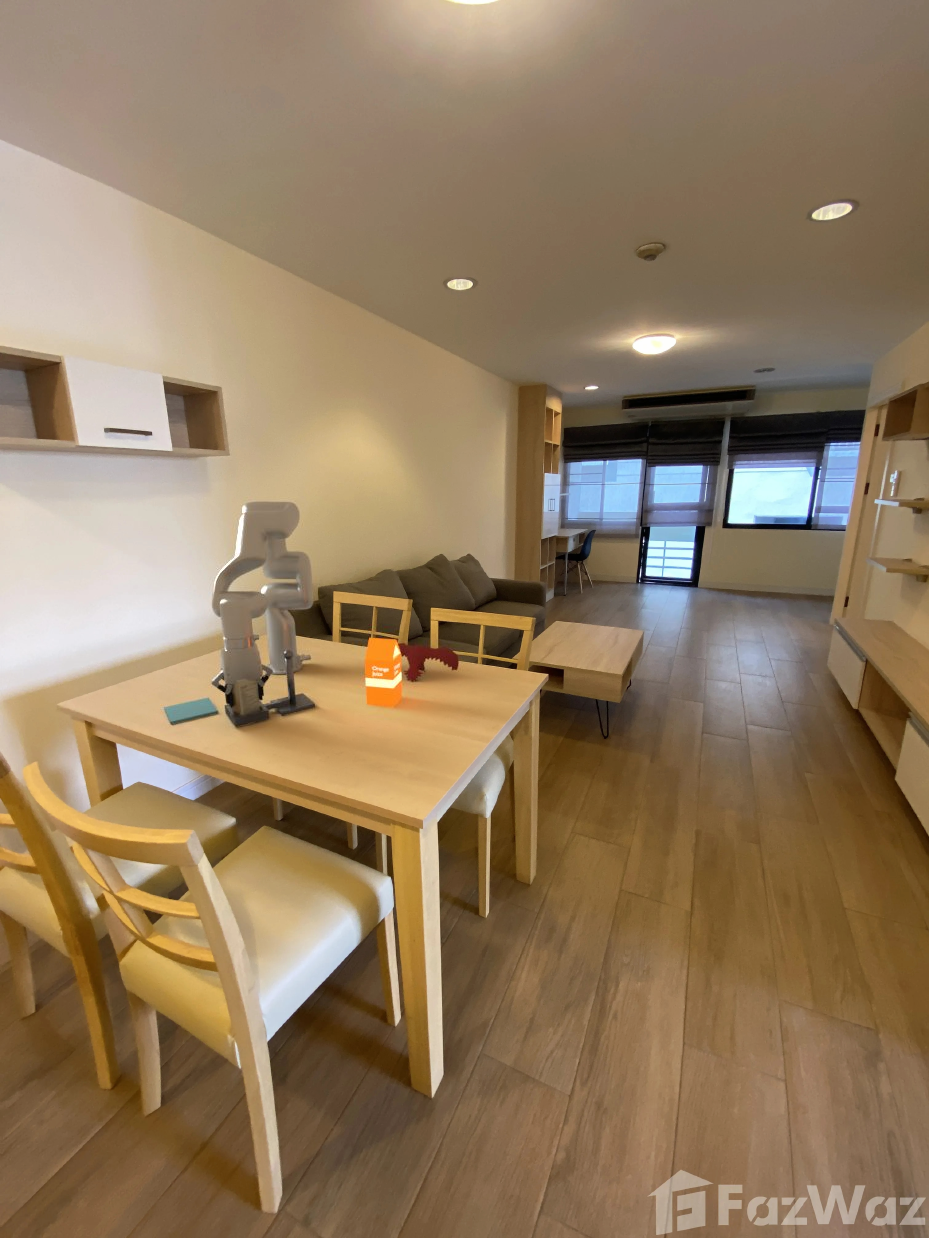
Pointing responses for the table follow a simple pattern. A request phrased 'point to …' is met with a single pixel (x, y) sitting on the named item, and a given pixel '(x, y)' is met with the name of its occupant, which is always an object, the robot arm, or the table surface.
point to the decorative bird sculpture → (421, 653)
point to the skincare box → (245, 697)
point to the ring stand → (276, 701)
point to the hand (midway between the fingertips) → (245, 701)
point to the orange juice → (383, 672)
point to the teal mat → (190, 710)
